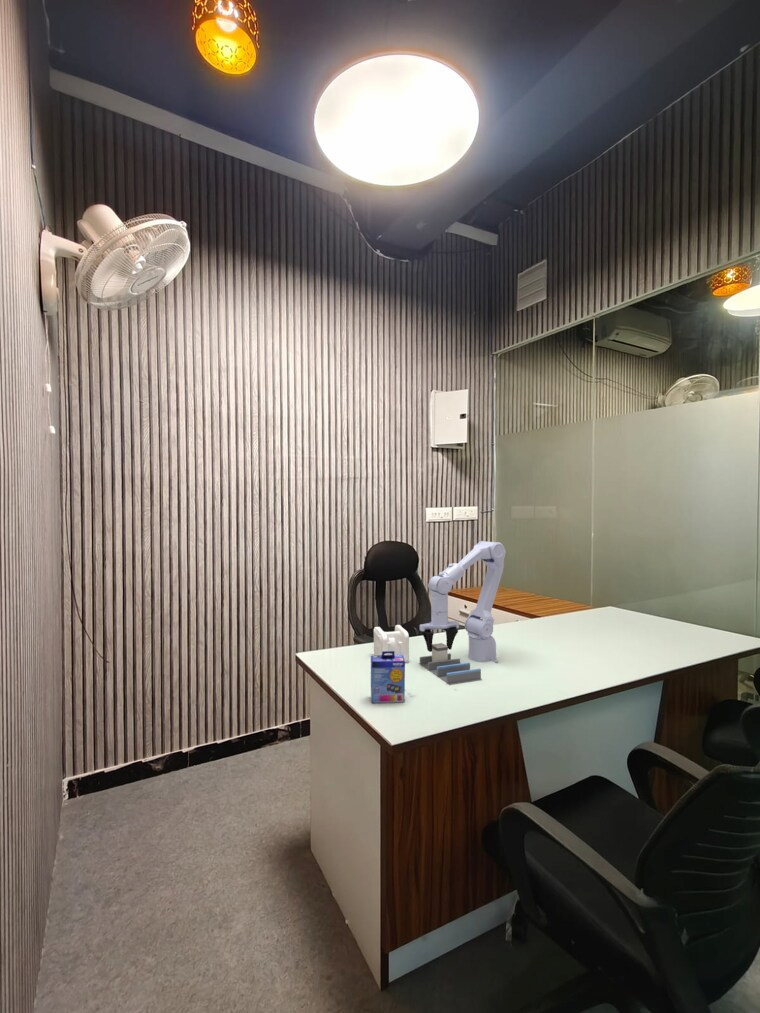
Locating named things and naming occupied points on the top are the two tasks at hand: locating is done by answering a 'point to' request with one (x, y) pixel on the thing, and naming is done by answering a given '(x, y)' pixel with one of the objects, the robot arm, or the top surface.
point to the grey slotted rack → (451, 670)
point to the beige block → (439, 652)
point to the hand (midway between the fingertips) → (439, 649)
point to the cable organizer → (392, 642)
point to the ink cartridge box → (387, 678)
